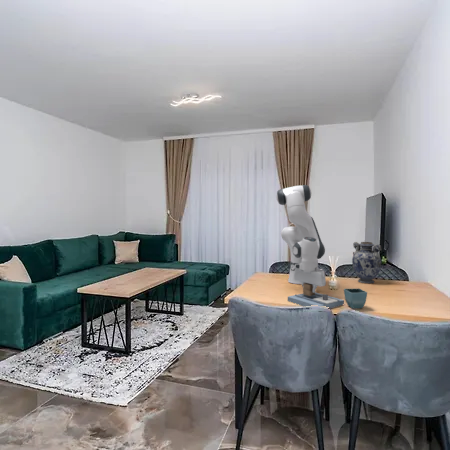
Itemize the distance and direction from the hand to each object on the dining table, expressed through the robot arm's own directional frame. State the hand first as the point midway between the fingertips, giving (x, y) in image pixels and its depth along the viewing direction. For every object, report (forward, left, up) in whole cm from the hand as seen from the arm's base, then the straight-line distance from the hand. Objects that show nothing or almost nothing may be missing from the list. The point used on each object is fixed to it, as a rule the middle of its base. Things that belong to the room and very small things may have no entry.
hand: (309, 291), depth 182 cm
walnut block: (0, 0, -2) cm, 2 cm away
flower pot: (-11, +21, -6) cm, 25 cm away
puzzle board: (0, +4, -6) cm, 7 cm away
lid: (0, +11, -3) cm, 11 cm away
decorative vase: (-70, -11, -6) cm, 71 cm away
